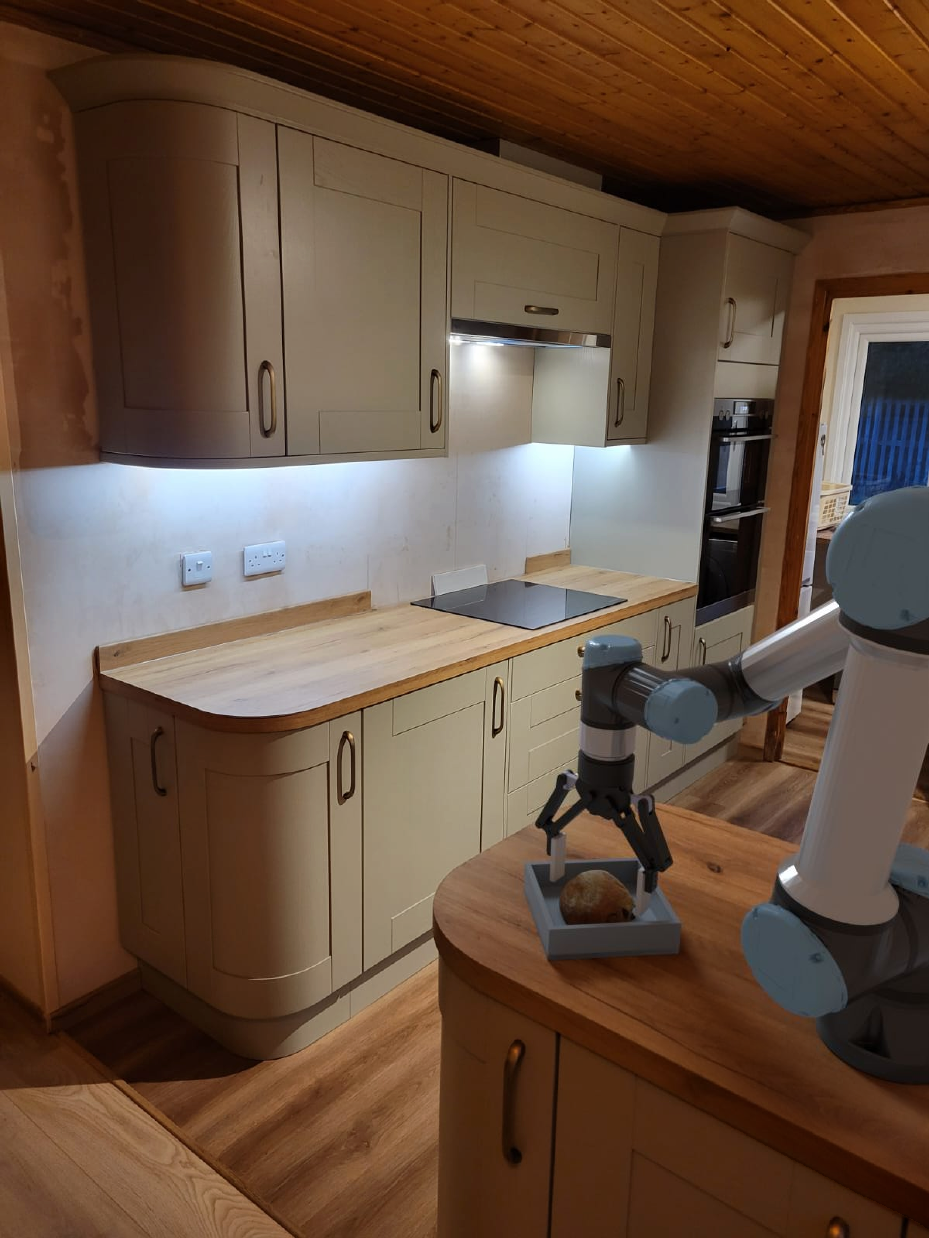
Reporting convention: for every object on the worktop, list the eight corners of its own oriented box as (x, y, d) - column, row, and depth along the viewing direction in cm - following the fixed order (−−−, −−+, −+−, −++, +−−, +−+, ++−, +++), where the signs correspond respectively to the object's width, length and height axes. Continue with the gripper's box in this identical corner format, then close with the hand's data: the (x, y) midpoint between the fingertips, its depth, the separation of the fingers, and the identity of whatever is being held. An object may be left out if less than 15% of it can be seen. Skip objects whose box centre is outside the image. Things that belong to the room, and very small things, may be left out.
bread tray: (678, 953, 123) (681, 922, 122) (547, 960, 121) (549, 929, 120) (639, 884, 140) (641, 857, 139) (523, 889, 138) (524, 862, 137)
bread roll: (594, 914, 137) (576, 862, 137) (653, 910, 130) (635, 855, 131) (557, 945, 129) (539, 889, 130) (619, 941, 123) (599, 883, 123)
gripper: (706, 766, 120) (693, 914, 125) (544, 721, 135) (538, 855, 140) (680, 784, 114) (668, 938, 119) (514, 735, 129) (509, 874, 134)
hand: (598, 893), depth 130 cm, fingers open, 13 cm apart
